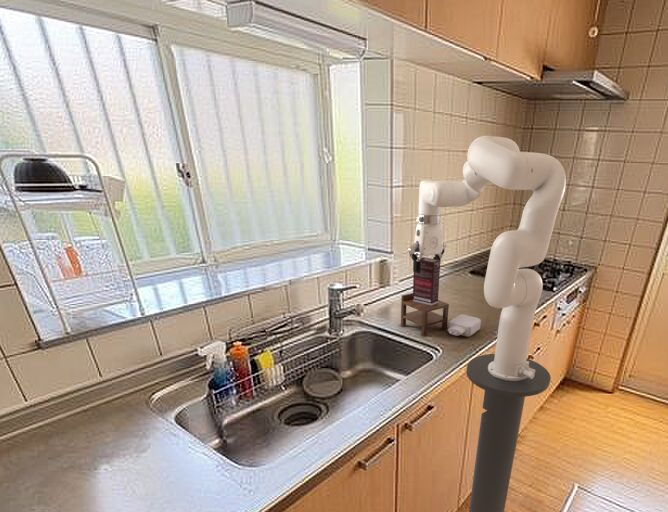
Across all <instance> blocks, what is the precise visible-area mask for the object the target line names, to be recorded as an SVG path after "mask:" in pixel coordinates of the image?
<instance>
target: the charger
mask: <svg viewBox="0 0 668 512" xmlns="http://www.w3.org/2000/svg"><path fill="white" fill-rule="evenodd" d="M481 324H482V320H481V319H480V318H479V317H476V316H471V315H467V314H464V313H460V314H459V315H457V316H455V317H454V318H452V319H450V320H448V324H447V332H448V333H449V334H450V335H453V336H462V337H463V336H464V337H465V338H466V337H467V338H468V337H471V336H473V335H474V334H475V333H477V332H478V331H479V330H481Z"/></svg>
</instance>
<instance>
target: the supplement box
mask: <svg viewBox="0 0 668 512" xmlns="http://www.w3.org/2000/svg"><path fill="white" fill-rule="evenodd" d="M420 261H421V271H420V273H417V272H414V271H413V274H412V275H413V277H412V278H413V279H412V280H413V281H412V293H413V301H414V302H418V303H422V304H427V305H431V306H432V305H435V304H437V303H438V300H439V290H440V275H441V274H440V273H441V272H440V271H441V262H440V260H437V259H433V258H432V257H426V256H422V257H421V259H420Z"/></svg>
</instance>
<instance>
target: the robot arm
mask: <svg viewBox="0 0 668 512" xmlns="http://www.w3.org/2000/svg"><path fill="white" fill-rule="evenodd" d="M466 158H467V159H466V161H465V162H464V164H463V167H462V176H463V180H460V181H453V180H451V181H450V180H449V181H447V180H446V181H445V180H443V181H442V180H435V179H423V180H421V181H420V182H419V189H418V211H417V212H418V214H417V215H418V216H417V217H416V222H417V224H416V228H415V233H414V241H413V244H412V245H411V246H409V248H408V249H407V251H408V254H409V257H410V258H411V260H412V261H413V262H412V272H413V273H414V272H417V273H420V271H421V261H420V259H421V257H429V256H433V258H432V259H437V260H440V263H441V261H442V259H443V255H444V253H445V250H446V247H447V244H446V243H445V242H444V235H443V234H444V232H443V225H442V224H441V215H442V208H451V207H452V208H455V207H458V208H459V207H464V206H467V205H468V204H470V203H472V202H474V201H475V200H477V199H479V198H480V197H481V195H482V193H483V192H484V189H485V187H487V186H488V185H489V184H491V183H492V184H494V185H495V186H497V187H499V188H501V189H503V190H509V191H532V195H530V197H529V199H528V200H527V201H526V204H525V205H524V208H523V211H522V213H521V214H522V215H521V219H520V223H519V226H518V227H517V229H513V230H512V229H511V230H506V231H503V232H501V233H500V234H499V235H497V237H496V238H495V239H494V240H493V243H492V245H491V248H490V252H489V255H488V262H487V266H486V267H487V268H486V271H485V272H486V273H485V277H484V281H483V283H484V284H483V295H484V299H485V301H486V303H487V304H488V306H490V307H492V308H494V309H501V312H500V315H499V322H498V329H497V336H496V342H495V350H494V354H495V357H494V361H493V362H491V363H490V364H489V365H488V371H489V373H490V374H491V375H493V376H494V377H496V378H499V379H502V380H507V381H520V380H524V379H526V378H527V377H528V378H530V379H533V377H534V375H535V374H534V373H535V370H534V369H532V368H529V361H526V359H528V352H529V347H530V340H531V335H532V330H533V329H532V328H533V325H534V321H535V316H536V315H535V314H536V312H537V311H536V310H537V307H538V304H539V302H540V299H541V296H542V293H543V289H544V288H543V287H544V286H543V285H544V283H543V279H542V277H541V275H540V274H539V272H537V271H536V270H534V269H531V268H529V267H533V266H537V265H539V264H541V263H542V262H544V261H545V258H546V256H547V254H548V250H549V247H550V243H551V238H552V235H553V231H554V228H555V224H556V219H557V216H558V213H559V209H560V207H561V205H562V201H563V198H564V195H565V191H566V187H567V176H566V171H565V169H564V167H563V165H562V163H561V162H560V160H558V159H557V158H556V157H554V156H552V155H550V154H547V153H541V152H534V151H533V152H532V151H531V152H530V151H521V150H520V147H519V145H518V144H517V143H516V142H515V141H514V140H513V139H510V138H509V137H503V136H493V135H481V136H478V137H476V138H475V139H473V141H472V142H471V143H470V145H469V146H468V149H467V155H466ZM527 267H528V268H527Z"/></svg>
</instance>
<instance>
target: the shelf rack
mask: <svg viewBox="0 0 668 512" xmlns="http://www.w3.org/2000/svg"><path fill="white" fill-rule="evenodd" d="M400 300H401V301H400V304H401V306H400V326H401V327H406V326H407V321H409V322H412V323H414V324H416V325H418V326H420V327H421V332H420V333H421V334H420V335H421V336H422V337H426V336H427V335H428V327H430V326H433V325H436V324H440V323H441V329H442V330H444V331H445V330H448V322H449V319H448V318H449V308H450V307H449V306H450V304H449V303H447V302H445V301H442V300H439V299H438V303H437V304H435V305H432V306H431V305H427V304H422V303H418V302H414V301H413V292H410V293H406V294H401V299H400ZM407 307H410V308H413V309H415V310H413V311H409V312H407ZM440 309H442V315H441V314H439V313H436V312H434V311H437V310H440Z"/></svg>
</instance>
